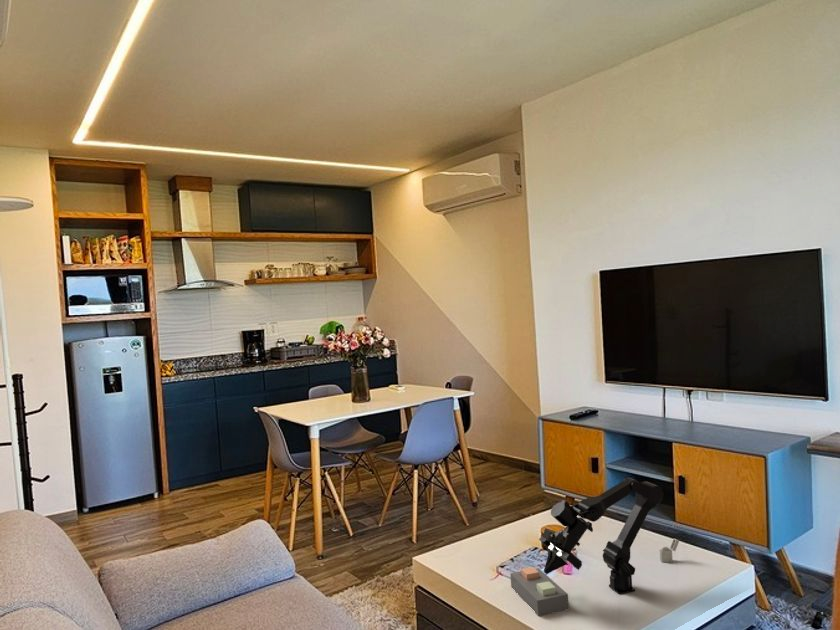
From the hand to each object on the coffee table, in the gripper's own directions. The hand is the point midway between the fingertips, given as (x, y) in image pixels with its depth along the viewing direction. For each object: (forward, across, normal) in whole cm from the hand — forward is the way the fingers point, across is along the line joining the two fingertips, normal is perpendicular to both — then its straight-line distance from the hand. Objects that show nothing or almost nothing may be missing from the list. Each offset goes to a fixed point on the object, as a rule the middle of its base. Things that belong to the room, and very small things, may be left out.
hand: (545, 572), depth 197 cm
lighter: (-33, -11, +49) cm, 61 cm away
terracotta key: (+6, -12, +7) cm, 15 cm away
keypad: (+8, -6, +8) cm, 13 cm away
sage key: (+7, 0, +7) cm, 10 cm away
